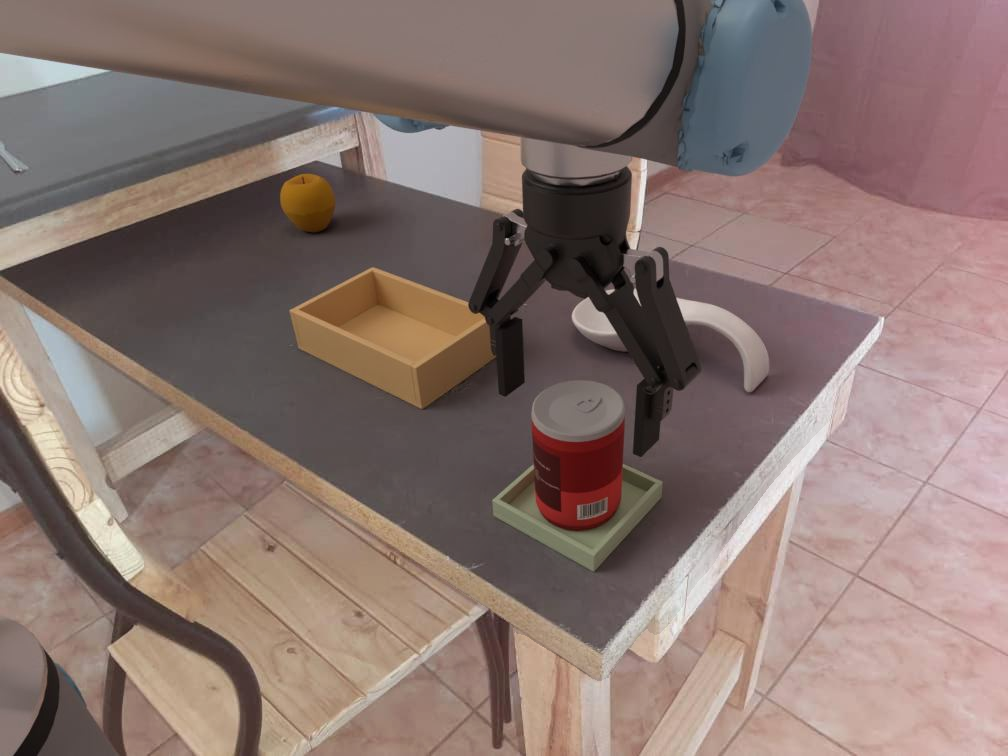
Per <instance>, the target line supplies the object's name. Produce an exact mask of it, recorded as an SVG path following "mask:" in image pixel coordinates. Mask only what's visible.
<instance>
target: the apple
mask: <svg viewBox="0 0 1008 756" xmlns="http://www.w3.org/2000/svg"><path fill="white" fill-rule="evenodd" d="M279 200H280V207H281V208H282V211H283V213H284V214H285V215H286V217H287V219H288V220H290V222H291V223H292V224H293V225H294V226H295V227H296V228H298V229H299V230H301V231H303V232H308V233H319V232H322V231H323V230H325V229H327V227H328V226H329V224H330V223H331V220H332V218H333V216H334V212H335V209H336V196H335V193H334V191H333V189H332V186H331V184H330V183H329V182H328V181H327V180H326V179H325V178H324V177H323V176H320V175H317V174H315V173H301V174H298V175H296V176H293V177H292V178H290V179H288V180H287V181H285V182H284V183H283V185H282V187H281V188H280V195H279Z"/></svg>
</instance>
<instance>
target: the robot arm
mask: <svg viewBox="0 0 1008 756" xmlns="http://www.w3.org/2000/svg"><path fill="white" fill-rule="evenodd" d="M0 54H5V55H9V56H15V57H16V56H17V57H24V58H29V59H36V60H41V61H48V62H53V63H54V62H55V63H60V64H67V65H72V66H77V67H78V66H79V67H84V68H89V69H90V68H91V69H97V70H103V71H110V72H116V73H123V74H127V75H128V74H129V75H135V76H141V77H147V78H153V79H160V80H165V81H171V82H178V83H183V84H190V85H197V86H202V87H208V88H215V89H221V90H226V91H234V92H239V93H246V94H251V95H257V96H265V97H269V98H270V97H271V98H277V99H283V100H288V101H289V100H290V101H296V102H301V103H308V104H314V105H318V106H319V105H320V106H326V107H332V108H338V109H345V110H350V111H357V112H364V113H370V114H372V115H373V116H374V117H375V119H376V120H378V121H379V122H381V123H382V124H383V125H385V126H386V127H388V128H389V129H391V130H393V131H395V132H399V133H403V134H416V133H420V132H421V133H422V132H424V131H429V130H432V129H434V130H438V131H441V130H443V129H446V128H447V127H456V128H460V129H461V128H462V129H469V130H475V131H480V132H487V133H492V134H499V135H506V136H512V137H518V138H519V146H520V148H519V149H520V150H519V151H520V152H519V153H520V154H519V155H520V162H521V165H522V166H523V167H524V168H525V170H524V171H523V172H522V175H521V191H522V192H521V193H522V198H521V199H522V210H521V209H520V208H515V209H513V210H511V211H508V212H507V213H505V214H503V215H501V216H499V217H497V218H496V219H494V220H493V222H492V239H491V240H492V241H491V242H492V243H491V247H490V249H489V250H488V253H487V256H486V259H485V261H484V263H483V266H482V267H481V271H480V273H479V276H478V278H477V280H476V283H475V286H474V288H473V290H472V293H471V296H470V298H469V300H468V302H469V303H468V307H469V309H470V311H471V312H472V313H474V314H477V313H480V314H482V315H483V316H484V317H485V321H486V323H487V324H488V325H489V328H490V339H491V340H490V343H491V351H492V354H493V355H494V356H496V371H497V388H498V390H497V391H498V395H500V396H502V397H504V398H506V397H507V396H509V395H510V394H512V393H513V392H514V391H517V389H518V388H520V387H521V386H523V385H524V384H525V382H526V381H525V355H524V354H525V353H524V330H523V329H524V327H523V326H524V325H523V318H521V317H517V316H514V317H512V316H513V315H514V314H516V313H518V312H519V309H520V308H521V307H522V306H523V305H524V304H525V303H526V302H527V301H528V300H529V298H531V296H533V295H534V294H535V293H536V291H538V290H539V288H541V287H542V286H543V284H545V282H548V283H549V284H550V287H551V289H553V290H556V291H561V292H562V291H564V292H569V293H570V294H571V295H574V296H576V297H577V298H580V299H583V300H585V299H586V298H588V297H589V299H590V300H591V302H592V303H593V305H594V307H595V308H596V310H597V311H599V312H603V313H604V314H605V315H606V317H607V319H608V320H609V322H610V323H611V325H612V327H613V328H614V330H615V332H616V333H617V335H618V336H619V338H620V340H621V341H622V343H623V345H624V346H625V348H626V349H627V351H626V352H628V354H629V356H630V358H631V359H632V361H633V363H634V364H635V366H636V367H637V369H638V370H639V372H640V374H641V375H642V377H643V379H642V380H641V381H639V383H638V384H636V391H635V393H636V394H635V408H634V409H635V411H634V423H633V424H634V427H633V442H632V455H634V456H637V457H639V458H642V457H643V456H644V455H645V454H646V453H647V452H649V450H650V449H652V448H653V446H654V445H655V444H656V443H658V441H660V433H661V422H662V421H663V420H664V419H665V418H666V417H668V415H669V414H670V413H671V411H672V408H673V398H674V390H675V391H678V392H681V391H683V390H685V389H686V388H687V387H688V386H689V385H690V384H691V383H692V382H693V381H694V380H695V379H696V378H697V377H698V376H700V374H701V373H702V366H701V363H700V360H699V358H698V355H697V352H696V349H695V346H694V344H693V341H692V338H691V336H690V332H689V330H688V327H687V326H686V324H685V321H684V318H683V316H682V313H681V310H680V307H679V304H678V302H677V299H676V298H677V297H676V293H675V289H674V287H673V285H672V283H671V279H670V257H669V252H668V251H667V249H666V248H665V247H662V246H657V247H655V248H654V249H652V250H650V251H645V250H639V249H632V248H631V246H630V244H629V241H628V237H627V231H628V227H629V223H630V219H631V207H632V205H631V204H632V182H633V173H632V171H631V169H630V168H629V165H630V163H631V162H632V161H633V158H636V159H641V160H646V161H650V162H655V163H659V164H663V165H666V166H671V167H675V168H678V170H681V171H683V172H688V173H691V172H694V171H698V172H703V173H709V174H714V175H715V174H716V175H720V176H727V177H743V176H748V175H749V174H752V173H754V172H755V171H757V170H759V169H760V168H761V167H763V166H765V165H766V164H767V163H769V161H770V160H771V159H772V158H773V157H774V156H775V155H776V154H777V152H778V151H779V150H780V148H781V146H783V144H784V143H785V140H786V139H787V137H788V135H789V134H790V132H791V130H792V128H793V126H794V124H795V121H796V119H797V116H798V114H799V112H800V108H801V104H802V103H803V99H804V95H805V92H806V89H807V84H808V80H809V76H810V72H811V66H812V65H811V63H812V55H813V29H812V24H811V19H810V14H809V10H808V8H807V6H806V3H805V1H804V0H0ZM524 242H525V245H526V246H527V248H528V250H529V252H530V253H531V256H532V257H533V259H534V260H533V261H532V262H531V263H530V264H529V265H528V266H527V268H525V269H524V270H523V272H521V274H520V275H519V278H518V279H517V280H516V281H515V283H513V284H512V285H511V287H510V288H509V289H508V290H507V291H506V292H505V293H504V294H503V295H502V297H501V298H500V295H501V293H502V291H503V288H504V287H505V284H506V282H507V279H508V277H509V275H510V273H511V270H512V268H513V266H514V263H515V261H516V259H517V257H518V255H519V253H520V250H521V247H522V245H523V243H524ZM625 269H627V270H628V271H629V273H630V276H629V275H628V274H627V272H626V271H625ZM611 284H612V286H613V288H614V289H615V290H614V291H613V292H612V293H610V294H609V295H608V294H607V293H606V291H607V290H606V289H607V288H608V287H609V286H610V285H611ZM634 285H635V286H634ZM634 289H636V291H637V295H638V298H639V302H640V304H641V305H640V304H639V302H638V300H637V299H636V297H635V296H634ZM0 756H120V754H119V753H118V751H117V750H116V749H115V747H114V745H113V744H112V742H111V741H110V740H109V738H108V736H107V735H106V734H105V733H104V731H103V730H102V728H101V726H100V725H99V724H98V722H97V720H96V719H95V717H94V716H93V715H92V713H91V712H90V710H89V709H88V705H87V703H86V701H85V698H84V697H83V695H82V692H81V691H80V689H79V687H78V685H77V684H76V682H75V681H74V679H73V678H72V677H71V676H70V675H69V673H68V672H67V671H66V669H64V668H63V666H61V665H60V664H59V663H57V662H55V660H53V659H52V657H51V656H50V654H49V653H48V652H47V651H46V649H45V648H44V647H43V645H42V644H41V642H40V641H39V639H38V638H37V636H35V634H33V632H31V631H30V630H29V629H28V628H26V627H25V626H24V625H23V624H21V623H20V622H18V621H16V620H14V619H12V618H10V617H6V616H3V615H0Z"/></svg>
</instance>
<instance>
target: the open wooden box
mask: <svg viewBox="0 0 1008 756" xmlns="http://www.w3.org/2000/svg"><path fill="white" fill-rule="evenodd" d="M468 303H469V301H466V300H463V299H460V298H458V297H455V296H452V295H450V294H447V293H445V292H442V291H439V290H436V289H433V288H430V287H428V286H425V285H423V284H420V283H417V282H415V281H412V280H409V279H406V278H404V277H401V276H398V275H396V274H393V273H390V272H388V271H385V270H383V269H379V268H376V267H374V266H372V267H370V268H368V269H366V270H365V271H362V272H360V273H359V274H357V275H355V276H353V277H351V278H349V279H347V280H345V281H343V282H341V283H339V284H337V285H335V286H333V287H331V288H329V289H328V290H326V291H324V292H322V293H320V294H318V295H316V296H314V297H312V298H310V299H308V300H307V301H305V302H303V303H301V304H299V305H297V306H295V307H293V308H291V309H289V314H290V318H291V323H292V326H293V331H294V334H295V339H296V343H297V347H298V350H301V351H302V352H305V353H307V354H309V355H311V356H313V357H315V358H317V359H319V360H321V361H323V362H325V363H327V364H329V365H331V366H333V367H335V368H337V369H340V370H341V371H343V372H345V373H348V374H350V375H352V376H353V377H356V378H358V379H360V380H361V381H364V382H365V383H368V384H369V385H372V386H374V387H375V388H378V389H380V390H381V391H384V392H386V393H388V394H389V395H392V396H394V397H396V398H398V399H400V400H403V402H406V403H409V404H410V405H412V406H415V407H416V408H419V409H421V410H424V409H425V408H427V407H428V406H429V405H431V404H432V403H434V402H435V401H436V400H438V399H439V398H440V397H442V396H444V395H445V394H447V393H448V392H449V391H450V390H452V389H454V388H455V387H456V386H458V385H459V384H460V383H462V382H463V381H465V380H466V379H468V378H469V377H470V376H472V375H473V374H475V373H476V372H477V371H479V370H481V369H482V368H483V367H485V366H486V365H487V364H489V363H490V362H491V361H493V360H494V359H497V357H496V356H494V355H493V354H492V351H491V343H490V340H491V339H490V328H489V325H488V324H487V323H486V321H485V317H484V316H483V315H482V314H480V313H477V314H474V313H472V312H471V311H470V309H469V307H468Z"/></svg>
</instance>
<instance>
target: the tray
mask: <svg viewBox="0 0 1008 756" xmlns="http://www.w3.org/2000/svg"><path fill="white" fill-rule="evenodd" d="M662 494H663V481H662V480H660V479H658V478H656V477H653V476H651V475H649V474H646V473H645V472H642V471H640V470H638V469H636V468H634V467H631V466H629V465H627V464H624V463H623V472H622V494H621V501H620V504H619V507H618V509H617V511H616V513H615V514H614V516H613V517H612V518H611V519H610V520H609V521H607V522H606V523H604V524H603V525H601V526H598V527H596V528H593V529H589V530H582V531H573V530H566V529H562V528H559V527H556V526H554V525H553V524H551V523H549V522H548V521H547V520H546V519H545V518H544V517H543V516H542V514H541V513H540V511H539V509H538V506H537V504H536V498H535V480H534V463H532V465H531V466H529V467H528V468H527V469H525V471H523V472H522V473H521V474H520V475H518V477H516V478H515V480H513V481H512V482H511V483H509V485H507V487H505V488H504V489H503V490H502V491H500V492H499V493H498V494H497V496H496V497H494V498H493V499H492V500H491V501H492V503H491V504H492V513H493V517H494V518H496V519H498V520H500V521H502V522H504V523H506V524H507V525H509V526H511V527H512V528H514V529H516V530H518V531H520V532H522V533H523V534H525V535H527V536H529V537H531V539H534V540H536V541H538V542H539V543H541V544H543V545H545V546H546V547H548V548H550V549H552V550H554V551H556V552H557V553H559V554H561V555H563V556H564V557H566V558H568V559H570V560H571V561H573V562H575V563H577V564H579V565H580V566H582V567H584V568H586V569H588V570H590V571H591V572H594V573H595V571H596V570H597V569H598V568H599V567H600V566H601V565H602V564H603V563H604V562H605V560H607V558H608V557H609V556H610V555H611V554H612V553H613V552H614V551H615V549H616V548H617V547H618V546H619V545H620V544H621V543H622V542H623V540H625V538H626V537H627V536H628V535H629V534H630V533H631V532H632V531H633V530H634V528H636V526H637V525H638V524H640V522H642V520H643V519H644V518H645V516H647V514H648V513H649V512H650V511H651V510H652V509H653V507H655V505H656V504H657V503H658V502H659V501H660V500H661V499H662Z"/></svg>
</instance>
